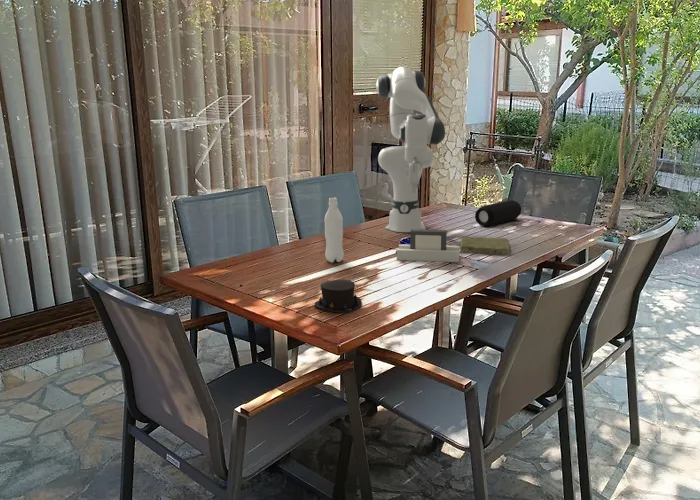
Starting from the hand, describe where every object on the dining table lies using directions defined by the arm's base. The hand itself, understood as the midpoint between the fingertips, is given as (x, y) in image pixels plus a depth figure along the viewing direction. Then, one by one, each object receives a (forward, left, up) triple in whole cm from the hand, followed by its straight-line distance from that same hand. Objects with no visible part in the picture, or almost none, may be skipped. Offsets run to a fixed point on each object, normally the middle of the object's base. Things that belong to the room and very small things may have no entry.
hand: (415, 190), depth 248 cm
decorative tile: (-10, +28, -26) cm, 40 cm away
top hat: (+65, -18, -26) cm, 72 cm away
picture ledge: (+7, +6, -26) cm, 27 cm away
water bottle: (+16, -30, -26) cm, 43 cm away
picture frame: (+7, +6, -25) cm, 26 cm away
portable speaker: (-58, +35, -26) cm, 73 cm away
